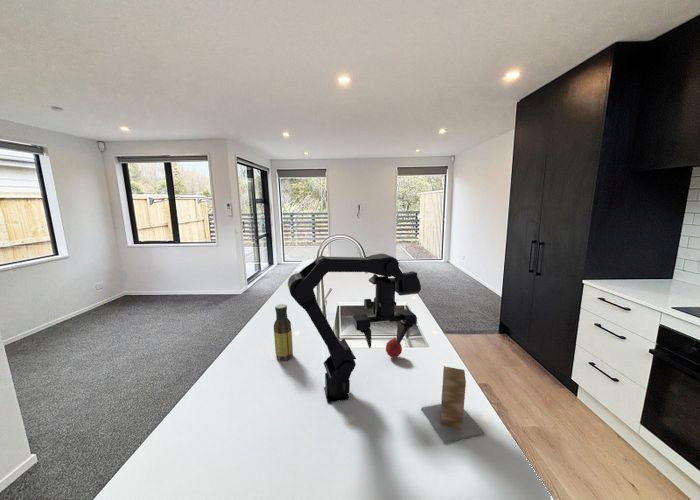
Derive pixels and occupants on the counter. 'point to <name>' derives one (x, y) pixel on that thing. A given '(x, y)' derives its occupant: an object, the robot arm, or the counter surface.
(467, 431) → the coaster
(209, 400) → the counter surface
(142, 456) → the counter surface
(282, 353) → the sauce bottle
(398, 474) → the counter surface
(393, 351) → the onion
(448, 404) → the block
